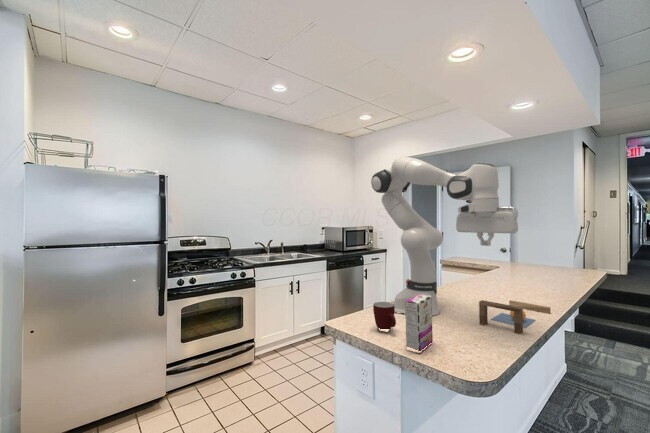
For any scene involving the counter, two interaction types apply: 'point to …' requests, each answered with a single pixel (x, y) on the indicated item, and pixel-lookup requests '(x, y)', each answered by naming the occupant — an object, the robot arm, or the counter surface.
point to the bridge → (517, 310)
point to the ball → (513, 314)
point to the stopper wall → (531, 307)
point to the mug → (384, 315)
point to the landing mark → (508, 319)
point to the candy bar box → (418, 322)
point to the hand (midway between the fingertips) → (485, 245)
